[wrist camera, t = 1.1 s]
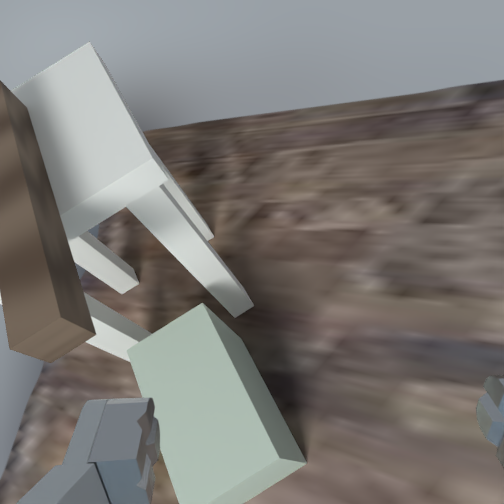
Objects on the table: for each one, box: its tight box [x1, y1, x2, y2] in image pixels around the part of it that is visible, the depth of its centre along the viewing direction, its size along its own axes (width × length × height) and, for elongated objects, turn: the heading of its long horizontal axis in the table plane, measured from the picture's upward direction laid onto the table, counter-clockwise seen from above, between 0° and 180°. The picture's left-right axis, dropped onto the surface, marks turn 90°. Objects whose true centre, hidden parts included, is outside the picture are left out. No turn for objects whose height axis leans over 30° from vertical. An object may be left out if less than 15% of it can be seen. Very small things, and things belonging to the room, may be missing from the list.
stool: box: [0, 42, 254, 362], centre depth 46 cm, size 18×18×30 cm
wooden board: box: [0, 81, 96, 363], centre depth 29 cm, size 24×3×3 cm, turn 29°
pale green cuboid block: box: [127, 303, 307, 504], centre depth 43 cm, size 16×9×13 cm, turn 29°
